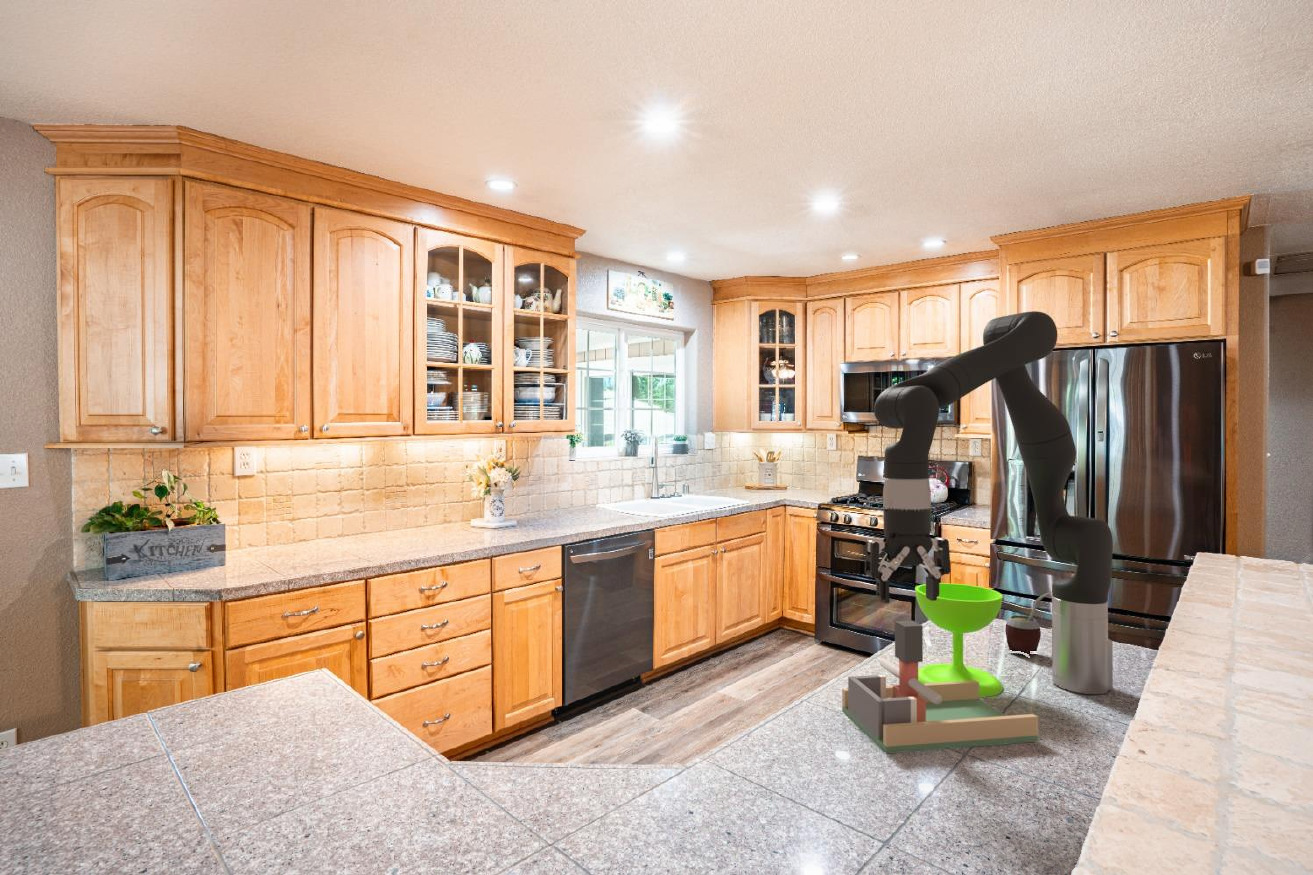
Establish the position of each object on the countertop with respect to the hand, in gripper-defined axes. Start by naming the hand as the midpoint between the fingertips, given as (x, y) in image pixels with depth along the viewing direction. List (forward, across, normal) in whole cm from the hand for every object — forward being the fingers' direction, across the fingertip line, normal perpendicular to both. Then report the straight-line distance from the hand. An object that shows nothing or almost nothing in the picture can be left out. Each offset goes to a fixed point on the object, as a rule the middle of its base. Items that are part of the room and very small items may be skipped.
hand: (907, 600), depth 111 cm
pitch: (+21, -5, 0) cm, 22 cm away
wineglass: (+22, -21, -18) cm, 35 cm away
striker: (+20, 0, 0) cm, 20 cm away
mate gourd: (+22, -46, -31) cm, 59 cm away
